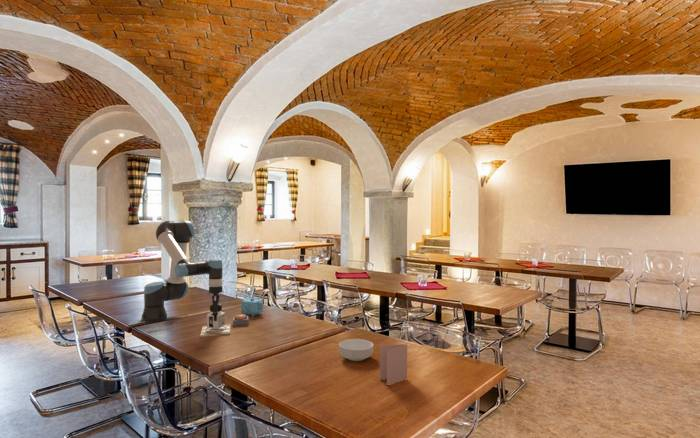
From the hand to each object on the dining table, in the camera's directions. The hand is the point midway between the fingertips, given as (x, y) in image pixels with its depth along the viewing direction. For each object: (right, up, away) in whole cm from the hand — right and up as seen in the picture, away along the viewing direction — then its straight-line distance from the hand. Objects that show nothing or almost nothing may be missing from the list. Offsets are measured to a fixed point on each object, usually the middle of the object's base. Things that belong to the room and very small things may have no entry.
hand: (216, 323), depth 247 cm
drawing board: (0, -4, 0) cm, 4 cm away
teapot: (+13, -4, +38) cm, 41 cm away
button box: (+10, -4, +16) cm, 20 cm away
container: (0, -2, 0) cm, 2 cm away
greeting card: (+97, -7, -71) cm, 120 cm away
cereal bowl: (+81, -6, -43) cm, 92 cm away
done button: (+10, -2, +16) cm, 19 cm away
